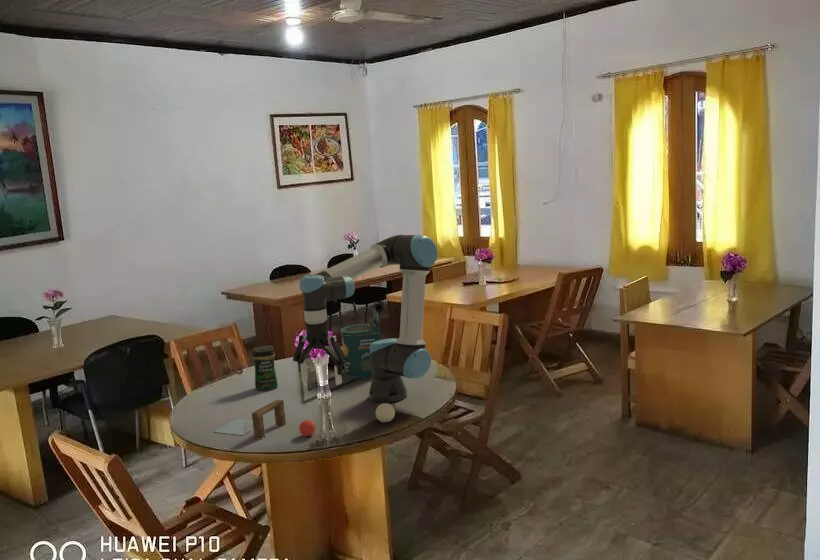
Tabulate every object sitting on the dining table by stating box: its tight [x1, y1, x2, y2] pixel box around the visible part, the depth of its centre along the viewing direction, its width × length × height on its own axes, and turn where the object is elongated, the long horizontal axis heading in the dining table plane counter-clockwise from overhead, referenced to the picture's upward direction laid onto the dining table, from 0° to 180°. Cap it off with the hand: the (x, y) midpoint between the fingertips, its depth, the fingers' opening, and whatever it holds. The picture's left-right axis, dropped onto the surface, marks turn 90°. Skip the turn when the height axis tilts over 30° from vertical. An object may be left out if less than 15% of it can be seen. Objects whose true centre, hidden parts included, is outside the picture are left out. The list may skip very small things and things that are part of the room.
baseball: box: [375, 402, 396, 423], centre depth 251 cm, size 7×7×7 cm
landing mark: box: [213, 418, 253, 436], centre depth 257 cm, size 13×13×1 cm
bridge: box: [251, 399, 287, 440], centre depth 250 cm, size 3×14×9 cm, turn 154°
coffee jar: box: [251, 345, 279, 391], centre depth 301 cm, size 10×8×19 cm
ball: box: [298, 419, 316, 437], centre depth 243 cm, size 6×6×6 cm
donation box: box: [340, 307, 381, 381], centre depth 311 cm, size 16×16×28 cm
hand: (321, 382), depth 238 cm, fingers open, 13 cm apart
